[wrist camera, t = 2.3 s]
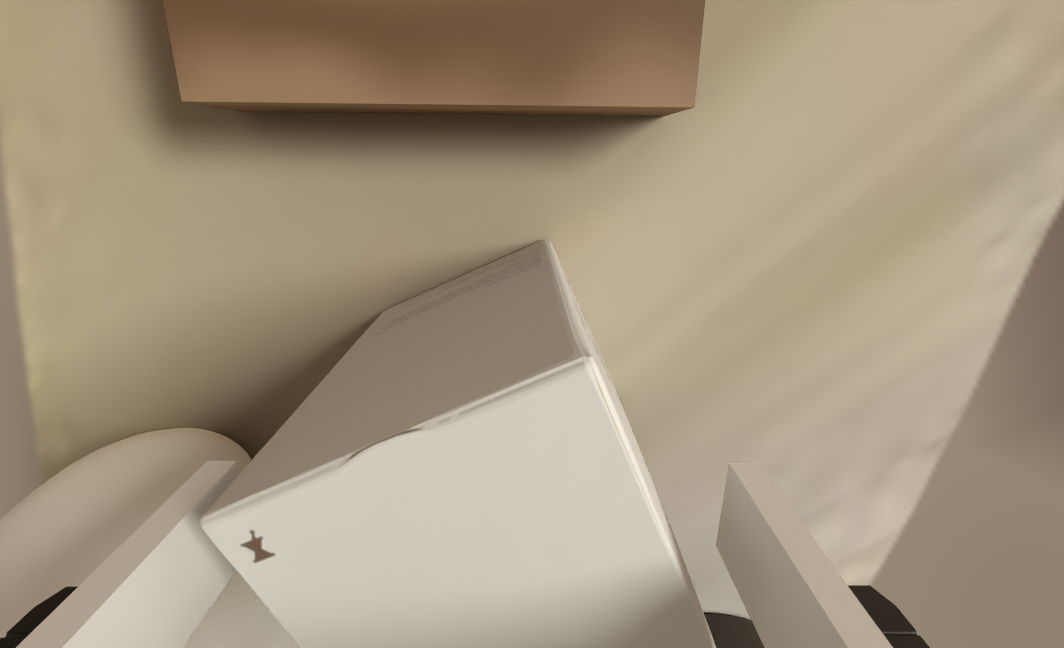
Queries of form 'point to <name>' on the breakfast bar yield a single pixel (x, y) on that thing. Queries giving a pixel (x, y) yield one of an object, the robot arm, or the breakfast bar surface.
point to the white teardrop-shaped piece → (95, 511)
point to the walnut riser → (438, 55)
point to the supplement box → (463, 486)
